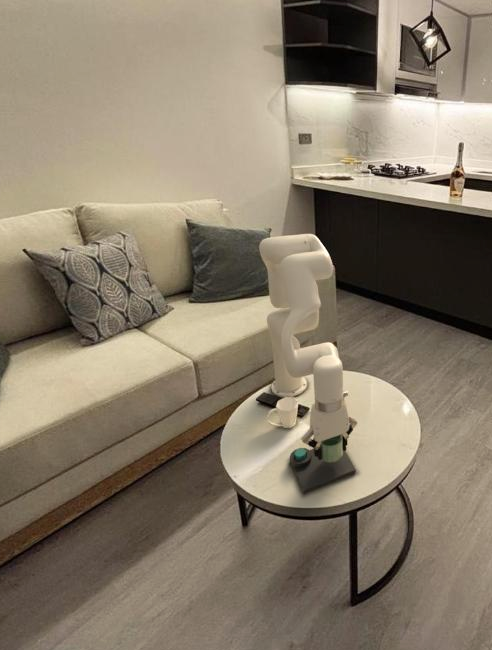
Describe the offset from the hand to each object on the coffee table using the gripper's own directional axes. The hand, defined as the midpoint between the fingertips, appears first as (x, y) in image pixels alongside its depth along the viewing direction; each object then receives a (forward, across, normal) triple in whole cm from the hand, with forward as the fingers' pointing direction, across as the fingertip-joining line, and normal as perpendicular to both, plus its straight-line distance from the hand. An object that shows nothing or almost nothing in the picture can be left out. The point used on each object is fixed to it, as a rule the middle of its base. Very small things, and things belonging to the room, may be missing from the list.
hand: (331, 451), depth 115 cm
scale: (+5, +2, -1) cm, 6 cm away
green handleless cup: (+1, 0, 0) cm, 1 cm away
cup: (+5, +8, -23) cm, 24 cm away
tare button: (+2, +7, -5) cm, 9 cm away
